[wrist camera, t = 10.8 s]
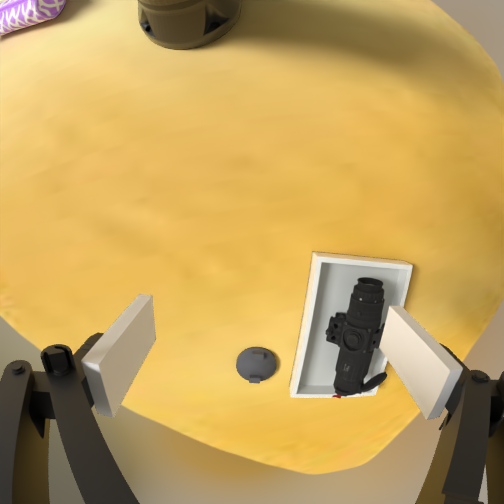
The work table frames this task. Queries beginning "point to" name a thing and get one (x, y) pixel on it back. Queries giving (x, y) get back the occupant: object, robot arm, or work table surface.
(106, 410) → the robot arm
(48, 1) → the pencil case
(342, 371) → the night vision scope
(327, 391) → the tray
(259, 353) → the lens cap
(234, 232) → the work table surface
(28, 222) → the work table surface
